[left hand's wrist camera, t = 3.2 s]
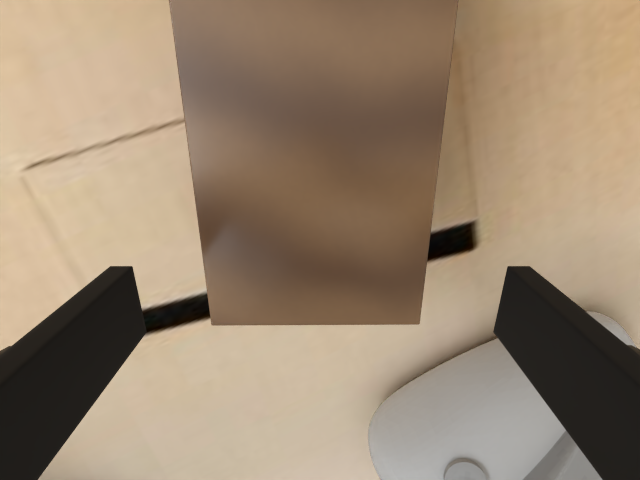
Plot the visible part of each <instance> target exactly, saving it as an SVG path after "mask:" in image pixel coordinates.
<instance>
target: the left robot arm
mask: <svg viewBox="0 0 640 480" xmlns="http://www.w3.org/2000/svg"><path fill="white" fill-rule="evenodd" d="M145 333H146V327H145V323H144V318H143V313H142V309H141V304H140V300H139V295H138V290H137V286H136V281H135V277H134V272H133V267H132V266H110V267H109V268H108V269H107V270H105V271H104V272H103V273H102V274H100V275H99V276H98V277H97V278H95V279H94V280H93V281H92V282H90V283H89V284H88V285H87V286H85V287H84V288H83V289H82V290H81V291H79V292H78V293H77V294H76V295H74V296H73V297H72V298H71V299H69V300H68V301H67V302H66V303H64V304H63V305H62V306H61V307H59V308H58V309H57V310H56V311H55V312H53V313H52V314H51V315H50V316H48V317H47V318H46V319H45V320H43V321H42V322H41V323H40V324H38V325H37V326H36V327H35V328H33V329H32V330H31V331H30V332H29V333H27V334H26V335H25V336H24V337H22V338H21V339H20V340H19V341H17V342H16V343H15V344H14V345H12V346H9V347H7V348H5V349H3V350H1V351H0V480H38V478H39V477H40V476H41V474H42V473H43V472H44V470H45V469H46V468H47V466H48V465H49V464H50V462H51V461H52V459H53V458H54V457H55V455H56V454H57V453H58V451H59V450H60V449H61V447H62V446H63V445H64V443H65V442H66V440H67V439H68V438H69V436H70V435H71V434H72V432H73V431H74V430H75V428H76V427H77V426H78V424H79V423H80V422H81V420H82V419H83V417H84V416H85V415H86V413H87V412H88V411H89V409H90V408H91V407H92V405H93V404H94V403H95V401H96V400H97V398H98V397H99V396H100V394H101V393H102V392H103V390H104V389H105V388H106V386H107V385H108V384H109V382H110V381H111V380H112V378H113V377H114V375H115V374H116V373H117V371H118V370H119V369H120V367H121V366H122V365H123V363H124V362H125V361H126V359H127V358H128V356H129V355H130V354H131V352H132V351H133V350H134V348H135V347H136V346H137V344H138V343H139V342H140V340H141V339H142V338H143V336H144V335H145ZM494 333H495V335H496V336H497V338H498V339H499V340H500V342H501V343H502V344H503V346H504V347H505V348H506V350H507V351H508V352H509V354H510V355H511V356H512V358H513V359H514V361H515V362H516V363H517V365H518V366H519V367H520V369H521V370H522V371H523V373H524V374H525V375H526V377H527V378H528V380H529V381H530V382H531V384H532V385H533V386H534V388H535V389H536V390H537V392H538V393H539V394H540V396H541V397H542V398H543V400H544V401H545V403H546V404H547V405H548V407H549V408H550V409H551V411H552V412H553V413H554V415H555V416H556V417H557V419H558V420H559V422H560V423H561V424H562V426H563V427H564V428H565V430H566V431H567V432H568V434H569V435H570V436H571V438H572V439H573V440H574V442H575V443H576V445H577V446H578V447H579V449H580V450H581V451H582V453H583V454H584V455H585V457H586V458H587V459H588V461H589V462H590V464H591V465H592V466H593V468H594V469H595V470H596V472H597V473H598V474H599V476H600V477H601V478H602V480H640V349H638V348H636V347H634V346H632V345H626V344H625V343H624V342H623V341H621V340H620V339H619V338H618V337H616V336H615V335H614V334H613V333H611V332H610V331H609V330H608V329H607V328H605V327H604V326H603V325H602V324H600V323H599V322H598V321H597V320H595V319H594V318H593V317H592V316H590V315H589V314H588V313H587V312H585V311H584V310H583V309H582V308H581V307H579V306H578V305H577V304H576V303H574V302H573V301H572V300H571V299H569V298H568V297H567V296H566V295H564V294H563V293H562V292H561V291H559V290H558V289H557V288H556V287H555V286H553V285H552V284H551V283H550V282H548V281H547V280H546V279H545V278H543V277H542V276H541V275H540V274H538V273H537V272H536V271H535V270H533V269H532V268H531V267H530V266H508V267H507V272H506V277H505V281H504V286H503V290H502V295H501V300H500V304H499V309H498V313H497V318H496V323H495V327H494Z"/></svg>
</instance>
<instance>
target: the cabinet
mask: <svg viewBox="0 0 640 480" xmlns="http://www.w3.org/2000/svg"><path fill="white" fill-rule="evenodd" d="M169 3H170V11H171V19H172V26H173V34H174V42H175V49H176V57H177V65H178V72H179V80H180V87H181V95H182V103H183V110H184V118H185V126H186V133H187V141H188V149H189V156H190V164H191V171H192V179H193V187H194V194H195V202H196V210H197V217H198V225H199V233H200V240H201V248H202V255H203V263H204V271H205V278H206V286H207V294H208V301H209V309H210V316H211V324H212V325H387V324H419V323H420V315H421V307H422V299H423V290H424V282H425V274H426V265H427V257H428V249H429V240H430V232H431V224H432V215H433V207H434V199H435V190H436V182H437V174H438V165H439V157H440V149H441V140H442V132H443V124H444V115H445V107H446V99H447V90H448V82H449V74H450V65H451V57H452V49H453V40H454V32H455V24H456V15H457V7H458V0H169Z"/></svg>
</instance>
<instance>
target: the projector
mask: <svg viewBox="0 0 640 480" xmlns="http://www.w3.org/2000/svg"><path fill="white" fill-rule="evenodd" d="M587 313H588V314H589V315H590V316H592V317H593V318H594V319H595V320H597V321H598V322H599V323H600V324H602V325H603V326H604V327H605V328H607V329H608V330H609V331H610V332H611V333H613V334H614V335H615V336H616V337H618V338H619V339H620V340H621V341H623V342H624V343H625V344H626V345H632V346H634V347H636V346H635V344H634V343H633V341H632V339H631V338H630V336H629V335H628V334H627V332H626V331H625V330H624V329H623V327H622V326H621V325H619V324H618V323H617V322H616V321H614V320H613V319H612V318H610V317H608V316H606V315H603V314H601V313H597V312H591V311H587ZM368 444H369V450H370V454H371V458H372V461H373V464H374V467H375V469H376V472H377V474H378V476H379V477H380V479H381V480H602V478H601V477H600V476H599V474H598V473H597V472H596V470H595V469H594V468H593V466H592V465H591V464H590V462H589V461H588V459H587V458H586V457H585V455H584V454H583V453H582V451H581V450H580V449H579V447H578V446H577V445H576V443H575V442H574V440H573V439H572V438H571V436H570V435H569V434H568V432H567V431H566V430H565V428H564V427H563V426H562V424H561V423H560V422H559V420H558V419H557V417H556V416H555V415H554V413H553V412H552V411H551V409H550V408H549V407H548V405H547V404H546V403H545V401H544V400H543V398H542V397H541V396H540V394H539V393H538V392H537V390H536V389H535V388H534V386H533V385H532V384H531V382H530V381H529V380H528V378H527V377H526V375H525V374H524V373H523V371H522V370H521V369H520V367H519V366H518V365H517V363H516V362H515V361H514V359H513V358H512V356H511V355H510V354H509V352H508V351H507V350H506V348H505V347H504V346H503V344H502V343H501V342H500V340H499V339H498V338H497V339H494V340H492V341H489V342H487V343H485V344H482V345H480V346H478V347H476V348H473V349H471V350H469V351H467V352H465V353H463V354H460V355H458V356H456V357H454V358H452V359H450V360H448V361H446V362H444V363H443V364H441V365H439V366H437V367H435V368H433V369H431V370H430V371H428V372H426V373H424V374H423V375H421V376H419V377H417V378H416V379H414V380H412V381H411V382H409V383H408V384H406V385H405V386H403V387H401V388H400V389H398V390H397V391H396V392H394V393H393V394H392V395H390V396H389V397H388V398H387V399H386V400H385V401H384V402H383V403H382V404H381V405H380V406H379V407H378V409H377V410H376V412H375V413H374V415H373V417H372V419H371V422H370V425H369V430H368Z"/></svg>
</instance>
